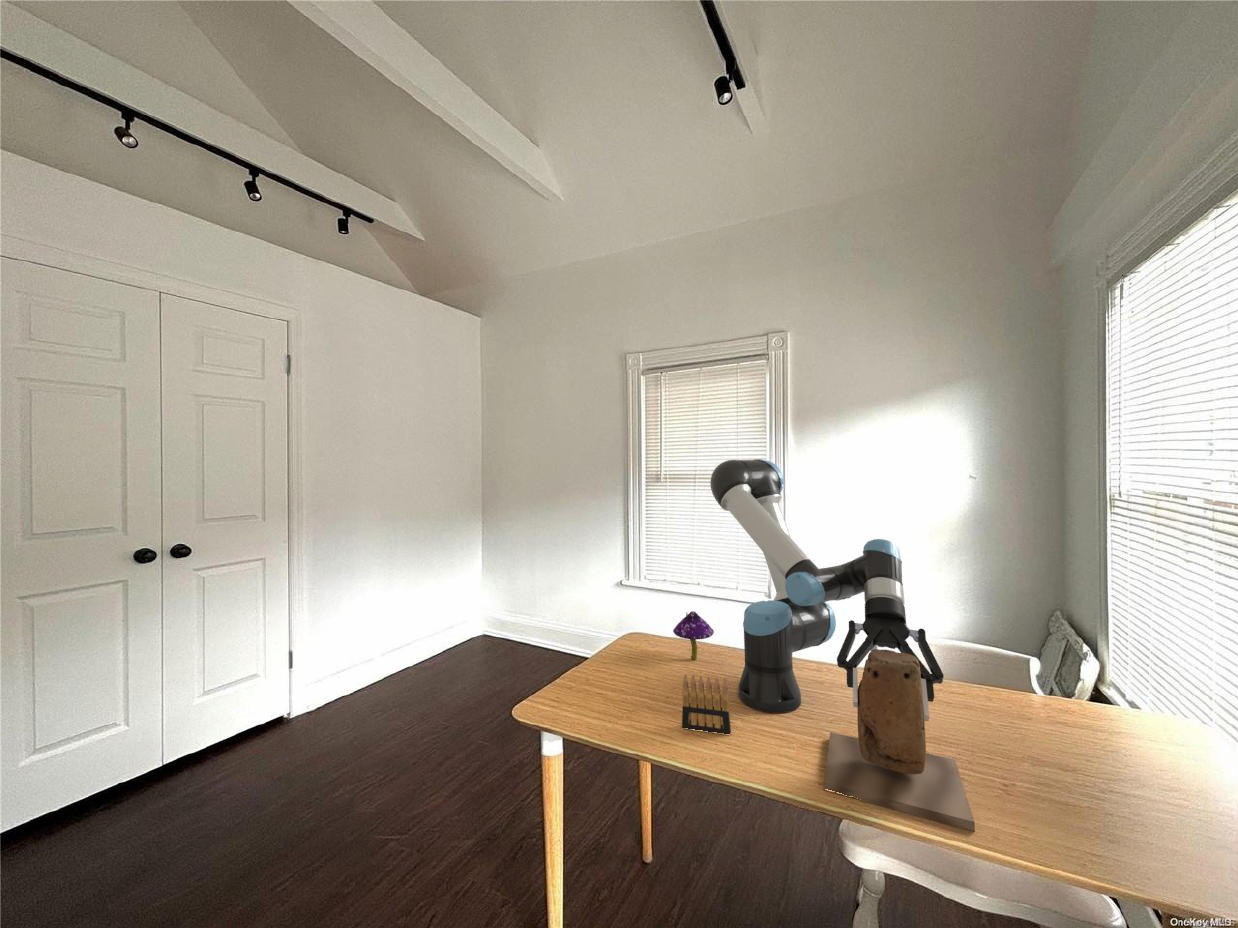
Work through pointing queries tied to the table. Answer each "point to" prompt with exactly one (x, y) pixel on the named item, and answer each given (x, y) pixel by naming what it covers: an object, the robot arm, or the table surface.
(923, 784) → the walnut board
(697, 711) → the ammunition clip
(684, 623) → the decorative mushroom
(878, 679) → the block
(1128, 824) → the table surface
